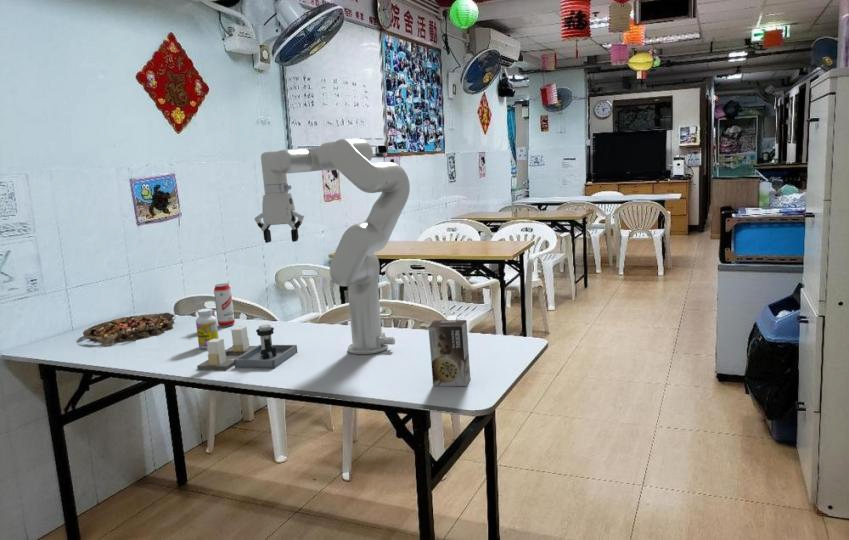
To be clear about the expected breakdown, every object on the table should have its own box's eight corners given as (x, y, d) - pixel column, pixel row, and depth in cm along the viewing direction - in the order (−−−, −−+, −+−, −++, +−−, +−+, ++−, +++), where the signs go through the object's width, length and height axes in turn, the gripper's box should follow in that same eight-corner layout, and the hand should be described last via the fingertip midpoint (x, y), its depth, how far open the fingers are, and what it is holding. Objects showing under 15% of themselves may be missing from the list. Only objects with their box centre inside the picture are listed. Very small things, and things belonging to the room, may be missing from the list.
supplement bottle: (194, 348, 221) (190, 311, 219) (208, 343, 227) (204, 307, 225) (209, 349, 218) (205, 312, 216) (223, 344, 224) (219, 308, 222)
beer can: (238, 324, 253) (233, 283, 250) (225, 328, 248) (220, 286, 245) (227, 322, 256) (222, 282, 254) (214, 326, 251) (209, 286, 248)
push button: (263, 362, 198) (259, 330, 197) (252, 359, 201) (248, 328, 200) (280, 356, 203) (277, 324, 202) (269, 353, 207) (265, 323, 205)
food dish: (136, 349, 231) (132, 328, 229) (63, 348, 241) (59, 328, 240) (198, 321, 263) (194, 302, 262) (132, 321, 274) (128, 303, 272)
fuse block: (260, 349, 215) (258, 325, 213) (227, 370, 195) (223, 343, 193) (233, 349, 217) (230, 325, 216) (197, 369, 197) (194, 343, 196)
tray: (297, 352, 208) (296, 344, 208) (274, 368, 193) (273, 360, 193) (260, 352, 211) (259, 344, 211) (235, 368, 196) (234, 360, 196)
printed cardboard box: (471, 378, 172) (467, 319, 170) (466, 387, 166) (462, 325, 164) (437, 378, 175) (433, 319, 172) (431, 386, 169) (427, 326, 166)
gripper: (305, 187, 214) (310, 239, 217) (257, 190, 219) (263, 241, 222) (295, 189, 207) (300, 242, 210) (246, 192, 212) (252, 244, 214)
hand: (281, 241), depth 216 cm, fingers open, 9 cm apart
